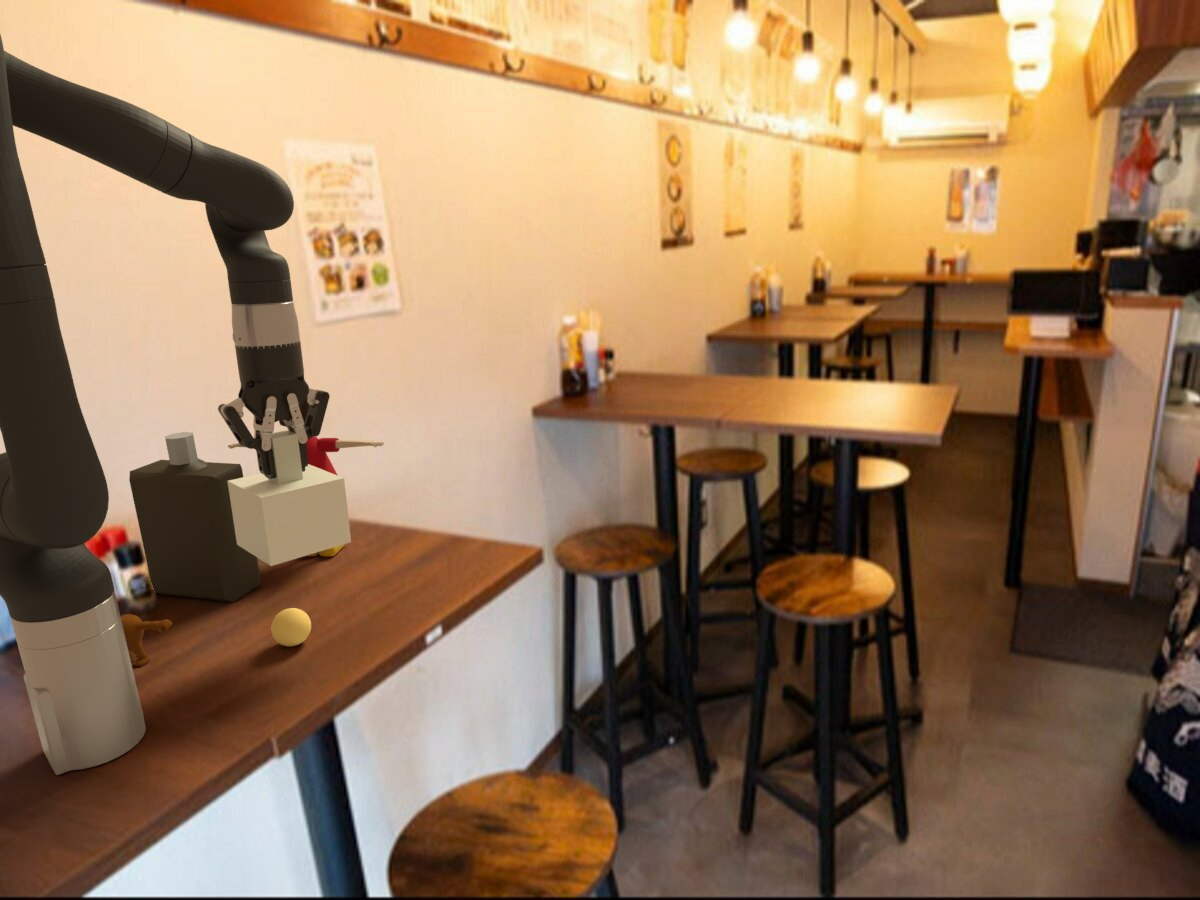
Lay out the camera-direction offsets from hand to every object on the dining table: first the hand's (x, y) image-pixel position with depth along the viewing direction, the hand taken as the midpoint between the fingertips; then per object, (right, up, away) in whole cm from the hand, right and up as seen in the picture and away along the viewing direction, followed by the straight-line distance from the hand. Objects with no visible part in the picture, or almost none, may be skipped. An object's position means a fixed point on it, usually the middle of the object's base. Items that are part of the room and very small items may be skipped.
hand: (285, 473), depth 103 cm
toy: (-8, -15, +34) cm, 38 cm away
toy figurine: (-20, -25, +2) cm, 32 cm away
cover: (0, -9, +2) cm, 10 cm away
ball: (-1, -21, +4) cm, 21 cm away
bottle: (-21, -19, +23) cm, 36 cm away
